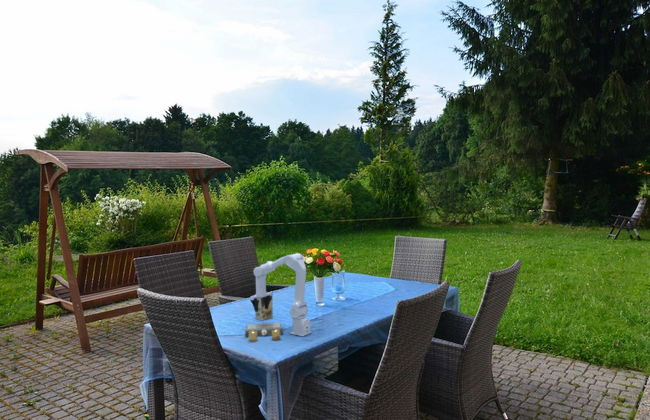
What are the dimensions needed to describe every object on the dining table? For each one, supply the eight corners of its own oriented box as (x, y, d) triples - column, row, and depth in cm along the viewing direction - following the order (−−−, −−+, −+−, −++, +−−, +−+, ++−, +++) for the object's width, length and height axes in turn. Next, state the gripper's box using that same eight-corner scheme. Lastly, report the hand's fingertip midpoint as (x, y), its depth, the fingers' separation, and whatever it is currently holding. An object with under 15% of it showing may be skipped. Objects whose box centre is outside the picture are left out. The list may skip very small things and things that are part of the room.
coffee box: (262, 321, 289) (261, 295, 289) (255, 319, 293) (254, 293, 293) (273, 317, 296) (272, 292, 296) (266, 316, 300) (265, 291, 300)
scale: (282, 335, 260) (282, 328, 260) (245, 337, 257) (245, 330, 257) (280, 327, 274) (280, 321, 274) (245, 329, 271) (245, 323, 271)
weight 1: (259, 340, 251) (258, 331, 251) (253, 342, 248) (253, 333, 248) (253, 339, 254) (252, 329, 254) (247, 341, 250) (247, 331, 250)
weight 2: (281, 338, 253) (281, 329, 253) (276, 341, 250) (276, 331, 250) (275, 337, 256) (275, 328, 256) (270, 339, 252) (269, 330, 252)
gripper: (265, 284, 284) (266, 306, 284) (246, 288, 273) (247, 311, 273) (273, 285, 279) (274, 308, 279) (254, 289, 268) (255, 313, 269)
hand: (261, 310), depth 276 cm, fingers open, 7 cm apart
